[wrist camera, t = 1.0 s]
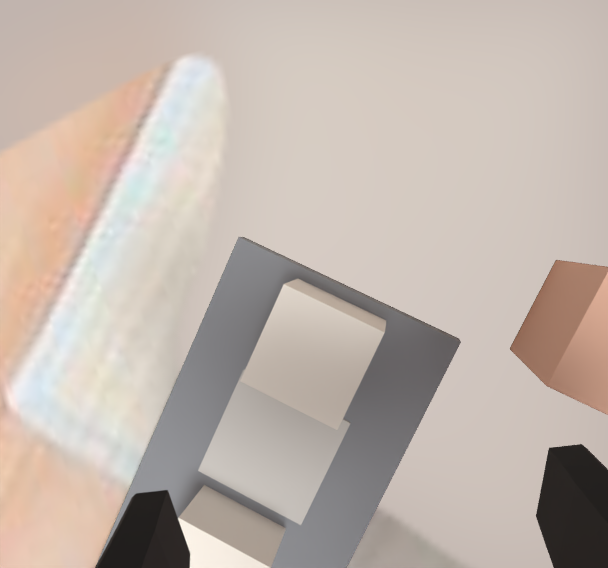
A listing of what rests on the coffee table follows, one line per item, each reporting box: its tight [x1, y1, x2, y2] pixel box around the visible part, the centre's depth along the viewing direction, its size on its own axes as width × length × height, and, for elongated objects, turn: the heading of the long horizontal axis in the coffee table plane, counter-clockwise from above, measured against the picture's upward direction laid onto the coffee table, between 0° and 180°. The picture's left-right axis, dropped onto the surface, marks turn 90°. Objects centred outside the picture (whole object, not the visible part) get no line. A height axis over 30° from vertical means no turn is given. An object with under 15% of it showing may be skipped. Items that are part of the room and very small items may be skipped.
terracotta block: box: [510, 260, 608, 415], centre depth 20 cm, size 4×4×6 cm
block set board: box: [98, 237, 461, 568], centre depth 24 cm, size 10×25×4 cm, turn 155°
